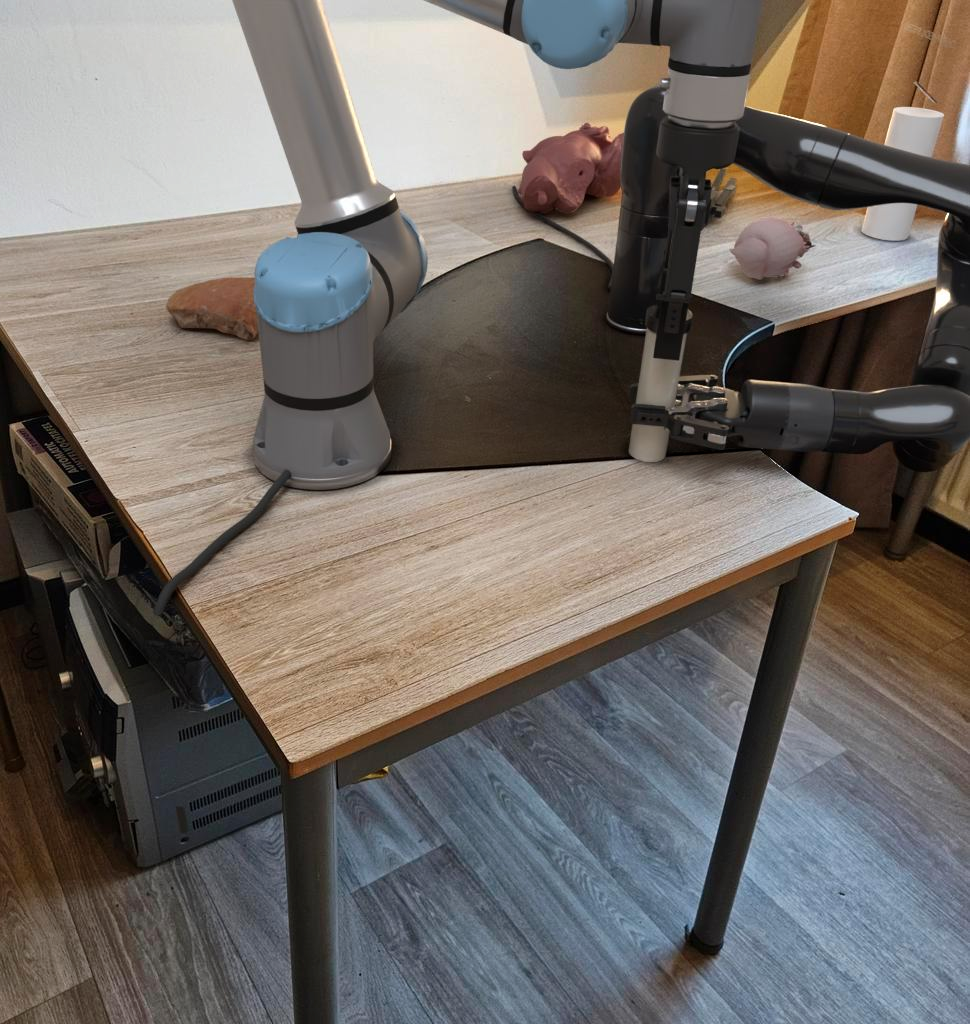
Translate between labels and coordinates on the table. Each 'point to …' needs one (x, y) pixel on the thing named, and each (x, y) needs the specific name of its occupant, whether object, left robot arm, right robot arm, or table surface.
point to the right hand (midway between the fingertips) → (630, 403)
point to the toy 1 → (719, 196)
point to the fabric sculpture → (571, 169)
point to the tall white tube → (913, 135)
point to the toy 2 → (770, 247)
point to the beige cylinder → (654, 400)
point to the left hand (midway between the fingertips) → (666, 342)
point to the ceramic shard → (217, 306)
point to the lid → (653, 318)
